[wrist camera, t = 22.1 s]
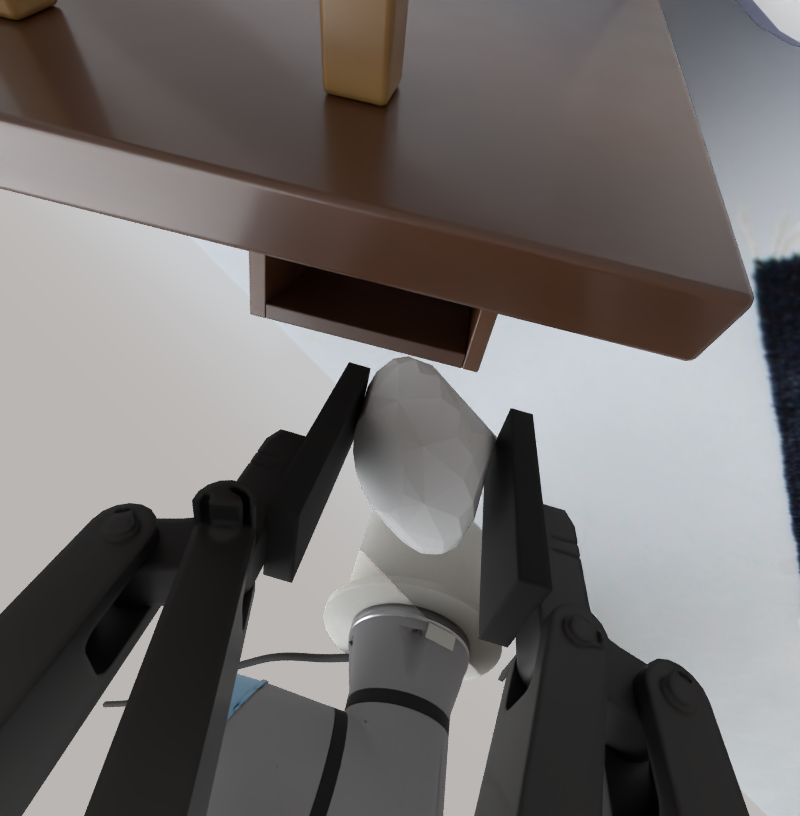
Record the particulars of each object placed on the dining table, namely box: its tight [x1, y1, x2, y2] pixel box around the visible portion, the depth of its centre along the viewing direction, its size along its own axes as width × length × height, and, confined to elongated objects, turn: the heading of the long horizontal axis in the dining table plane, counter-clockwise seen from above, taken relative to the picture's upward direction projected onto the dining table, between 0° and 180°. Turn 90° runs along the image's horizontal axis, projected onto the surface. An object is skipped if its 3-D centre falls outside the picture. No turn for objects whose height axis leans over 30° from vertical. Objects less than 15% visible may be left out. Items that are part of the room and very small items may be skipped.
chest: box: [249, 251, 498, 372], centre depth 20 cm, size 15×12×9 cm
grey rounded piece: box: [353, 356, 497, 554], centre depth 14 cm, size 6×6×5 cm
